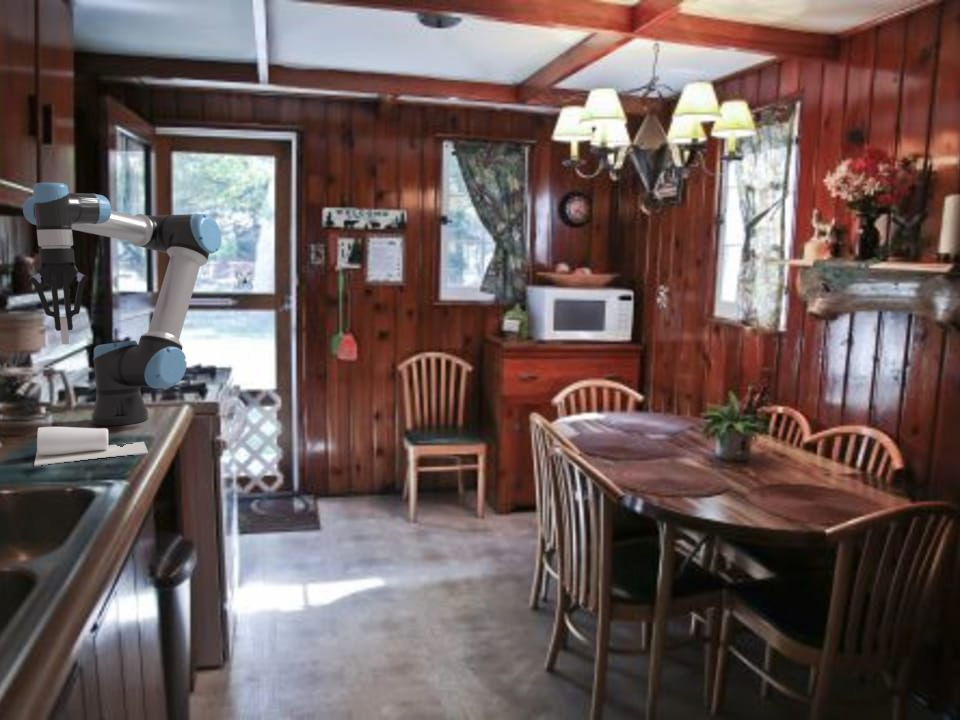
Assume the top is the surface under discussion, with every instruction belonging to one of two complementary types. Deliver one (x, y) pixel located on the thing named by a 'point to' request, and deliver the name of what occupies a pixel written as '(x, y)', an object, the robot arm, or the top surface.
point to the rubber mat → (93, 454)
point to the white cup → (70, 440)
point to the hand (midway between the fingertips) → (65, 343)
